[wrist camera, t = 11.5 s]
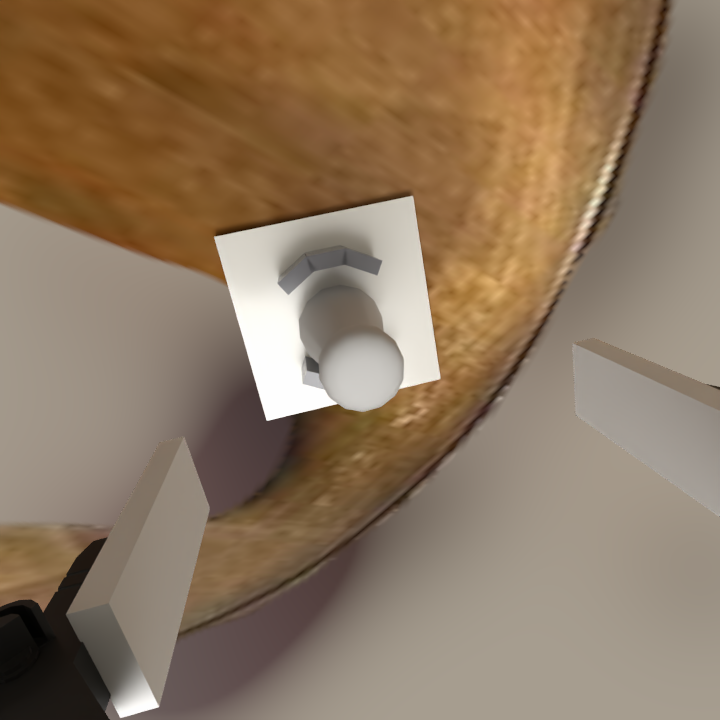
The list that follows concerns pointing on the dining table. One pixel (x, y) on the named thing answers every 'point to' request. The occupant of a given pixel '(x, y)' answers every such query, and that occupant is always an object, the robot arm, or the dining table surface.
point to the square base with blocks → (323, 270)
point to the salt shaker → (351, 348)
